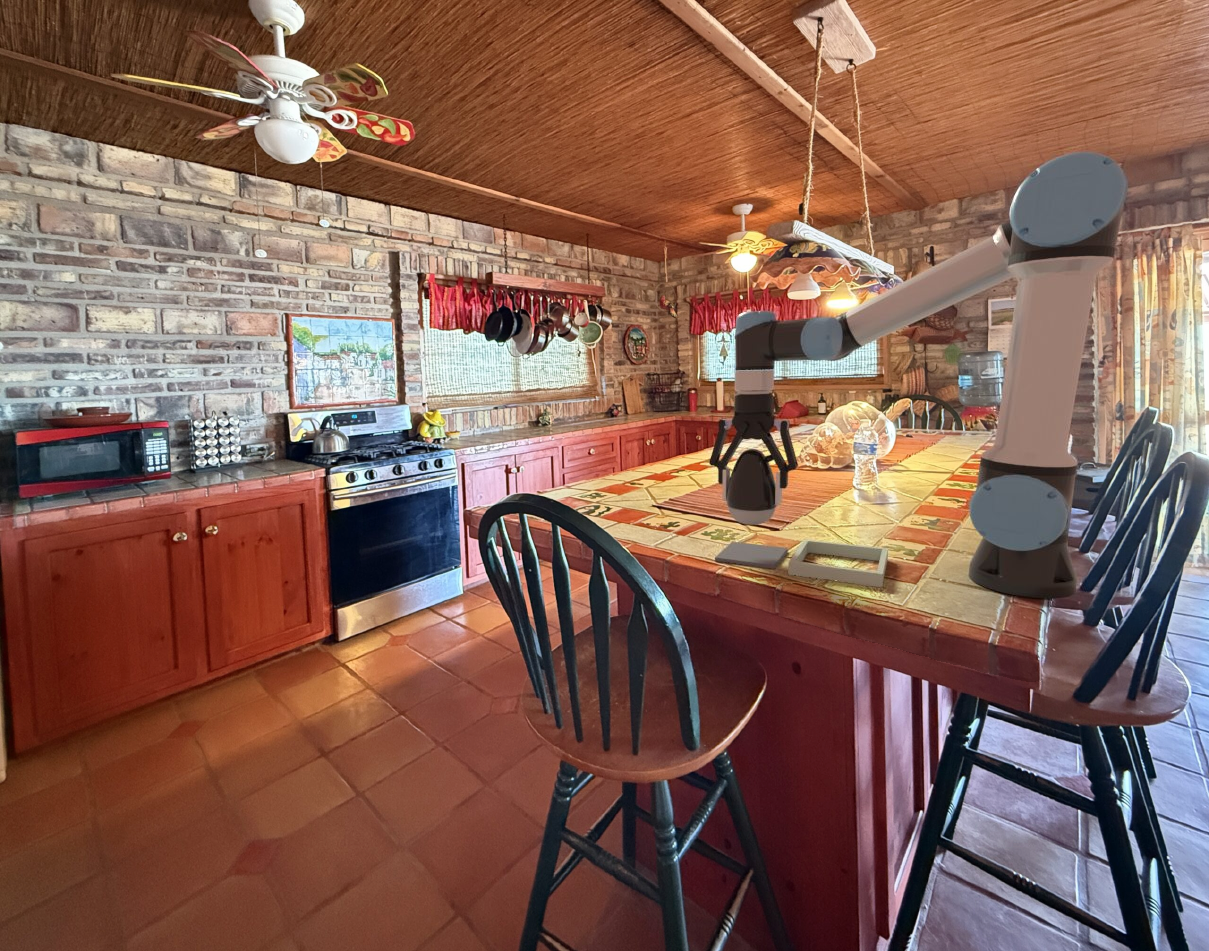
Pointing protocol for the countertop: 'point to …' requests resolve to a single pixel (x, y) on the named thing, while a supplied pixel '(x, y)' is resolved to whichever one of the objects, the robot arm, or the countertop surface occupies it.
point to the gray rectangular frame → (836, 572)
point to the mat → (752, 555)
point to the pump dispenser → (751, 488)
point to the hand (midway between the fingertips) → (751, 501)
